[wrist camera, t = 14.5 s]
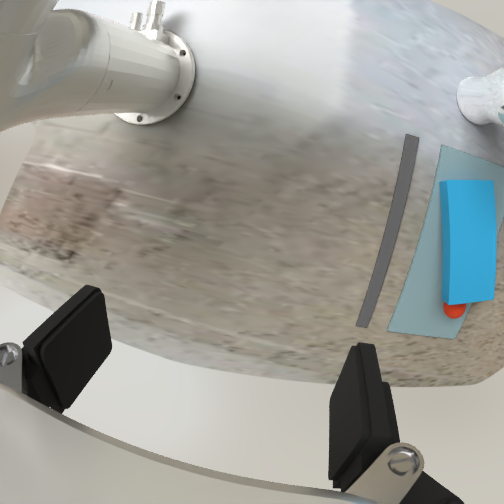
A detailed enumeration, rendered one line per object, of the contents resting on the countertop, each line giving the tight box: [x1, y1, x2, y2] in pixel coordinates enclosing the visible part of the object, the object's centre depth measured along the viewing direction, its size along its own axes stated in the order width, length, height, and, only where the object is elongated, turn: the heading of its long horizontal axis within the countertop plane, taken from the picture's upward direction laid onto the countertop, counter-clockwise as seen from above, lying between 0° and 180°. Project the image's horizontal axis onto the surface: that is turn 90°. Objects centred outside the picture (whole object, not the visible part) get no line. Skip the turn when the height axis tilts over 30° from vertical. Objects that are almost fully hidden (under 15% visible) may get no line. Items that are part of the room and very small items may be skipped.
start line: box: [356, 134, 419, 328], centre depth 37 cm, size 26×2×1 cm, turn 173°
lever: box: [439, 180, 496, 319], centre depth 34 cm, size 7×7×18 cm
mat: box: [387, 145, 504, 339], centre depth 36 cm, size 26×12×1 cm, turn 173°
